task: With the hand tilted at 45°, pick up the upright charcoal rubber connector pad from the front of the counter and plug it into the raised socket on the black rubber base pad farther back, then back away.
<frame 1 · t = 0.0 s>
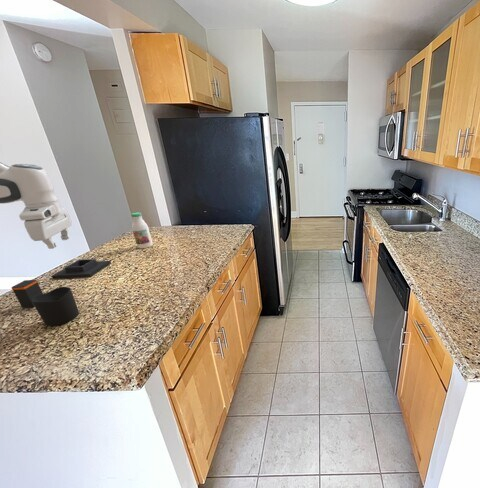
hand: (59, 243, 102), 20 cm above the countertop, tool pointing down, fingers open, 8 cm apart
connector base: (83, 270, 124), on the countertop
pen holder: (63, 319, 91), on the countertop
connector pad: (34, 303, 99), on the countertop
milk bottle: (145, 246, 152), on the countertop
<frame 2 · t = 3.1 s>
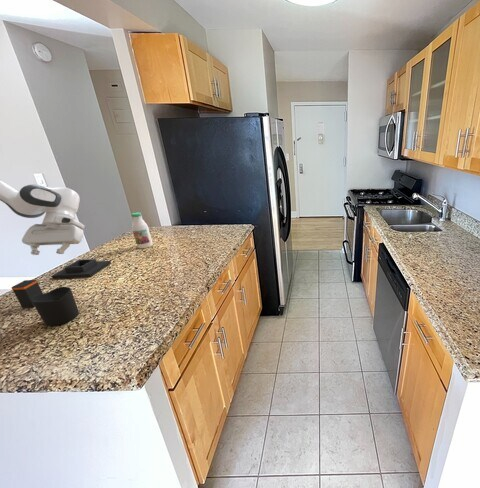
hand: (47, 254, 104), 15 cm above the countertop, tool tilted 45°, fingers open, 8 cm apart
nothing on the countertop moved.
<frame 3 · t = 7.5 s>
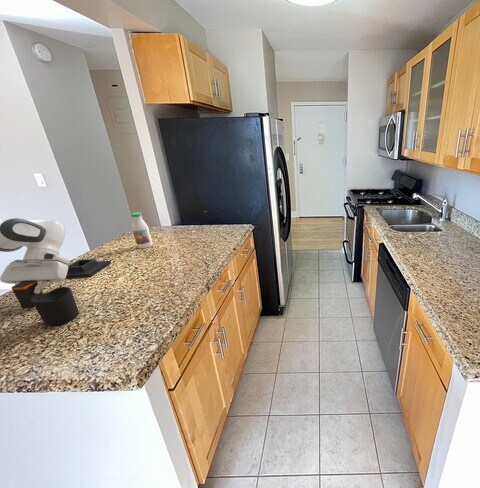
hand: (27, 293, 96), 5 cm above the countertop, tool tilted 45°, fingers closed on connector pad, 4 cm apart
connector pad: (34, 303, 99), on the countertop, touching gripper
everything else where it was.
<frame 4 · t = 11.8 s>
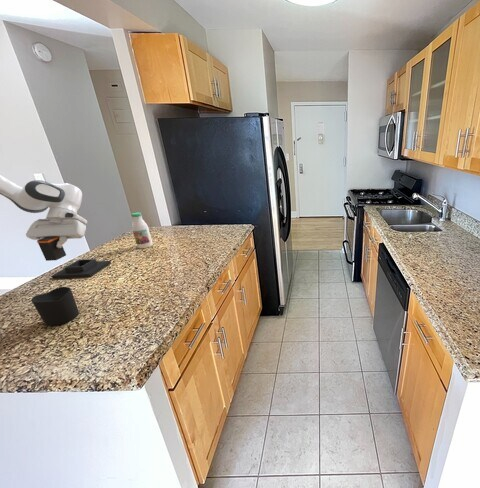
hand: (50, 247, 107), 17 cm above the countertop, tool tilted 45°, fingers closed on connector pad, 4 cm apart
connector pad: (56, 258, 110), point 12 cm above the countertop, touching gripper
everything else where it was.
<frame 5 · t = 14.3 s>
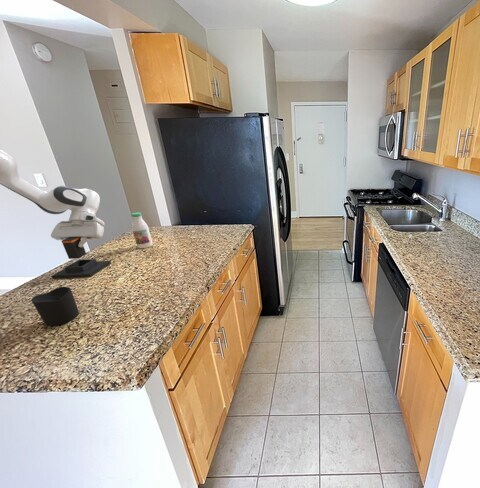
hand: (73, 247, 119), 12 cm above the countertop, tool tilted 45°, fingers closed on connector pad, 4 cm apart
connector pad: (77, 256, 121), point 7 cm above the countertop, touching gripper
everything else where it was.
when the fingers open (6 cm above the countertop, at t = 16.4 s): connector pad stays where it is, resting on connector base.
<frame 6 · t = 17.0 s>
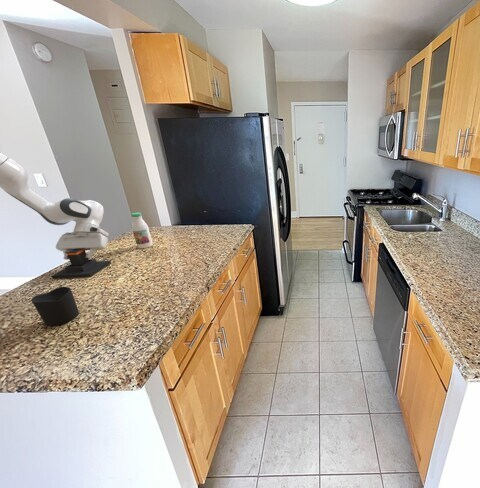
hand: (77, 258, 121), 7 cm above the countertop, tool tilted 45°, fingers open, 8 cm apart
connector pad: (82, 267, 123), point 1 cm above the countertop, touching connector base
everything else where it was.
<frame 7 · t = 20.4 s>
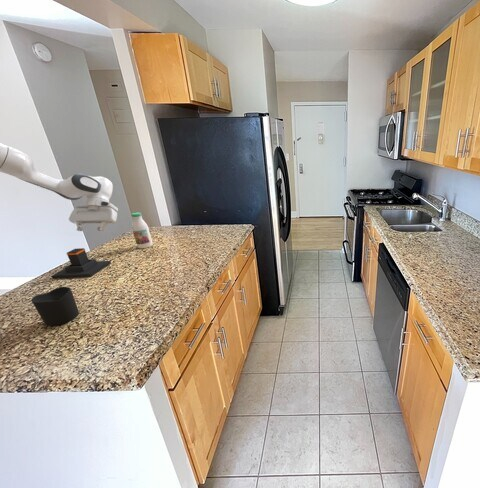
hand: (89, 230, 129), 16 cm above the countertop, tool tilted 45°, fingers open, 8 cm apart
nothing on the countertop moved.
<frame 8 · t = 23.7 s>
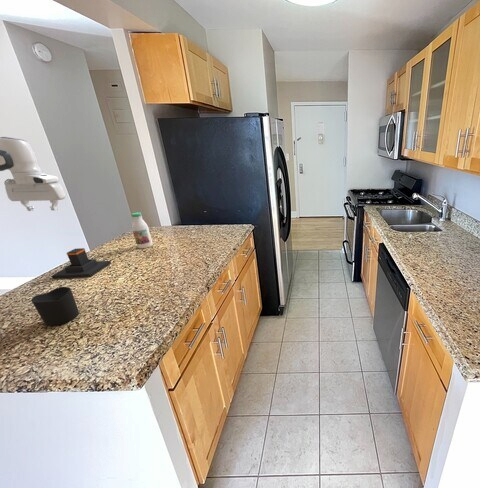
hand: (43, 210, 115), 29 cm above the countertop, tool pointing down, fingers open, 8 cm apart
nothing on the countertop moved.
at the end: connector pad 0.0 cm off-centre on the connector base, point 1.5 cm above the connector base's base; connector pad tilted 0°; the gripper is holding nothing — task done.
